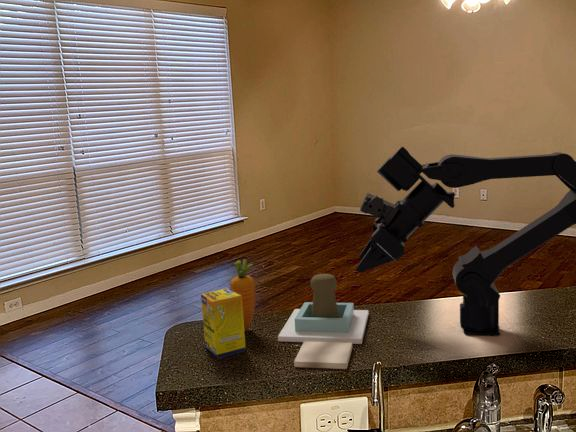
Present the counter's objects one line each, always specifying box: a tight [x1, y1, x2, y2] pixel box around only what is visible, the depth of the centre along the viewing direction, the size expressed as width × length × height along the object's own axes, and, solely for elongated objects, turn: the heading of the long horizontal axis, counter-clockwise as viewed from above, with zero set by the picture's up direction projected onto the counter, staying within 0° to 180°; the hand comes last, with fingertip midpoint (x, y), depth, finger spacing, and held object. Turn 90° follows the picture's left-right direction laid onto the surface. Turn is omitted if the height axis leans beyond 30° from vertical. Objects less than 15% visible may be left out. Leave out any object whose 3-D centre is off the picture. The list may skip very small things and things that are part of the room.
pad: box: [293, 341, 353, 370], centre depth 101 cm, size 9×9×1 cm
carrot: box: [229, 259, 256, 332], centre depth 115 cm, size 5×5×15 cm
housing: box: [277, 301, 370, 345], centre depth 116 cm, size 16×16×4 cm
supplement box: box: [200, 287, 247, 359], centre depth 106 cm, size 6×6×11 cm
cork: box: [310, 273, 339, 318], centre depth 115 cm, size 6×6×11 cm
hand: (359, 264), depth 112 cm, fingers open, 9 cm apart
